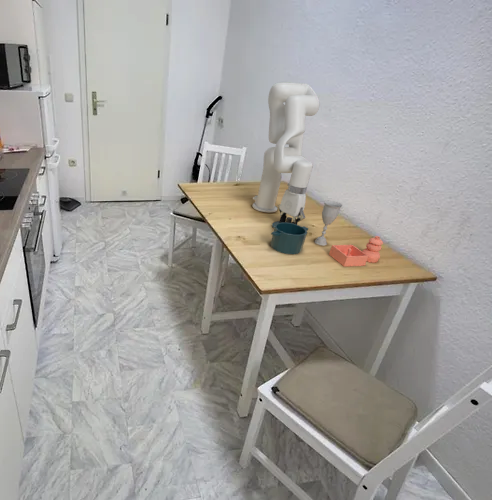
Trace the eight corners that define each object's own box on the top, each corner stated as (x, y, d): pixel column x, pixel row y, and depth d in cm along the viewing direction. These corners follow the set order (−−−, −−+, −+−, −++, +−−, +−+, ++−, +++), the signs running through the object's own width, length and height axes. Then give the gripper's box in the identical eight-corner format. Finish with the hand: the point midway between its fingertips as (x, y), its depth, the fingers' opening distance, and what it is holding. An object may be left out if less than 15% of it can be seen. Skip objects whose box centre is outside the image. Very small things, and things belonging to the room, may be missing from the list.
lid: (265, 225, 169) (268, 214, 167) (286, 221, 174) (289, 211, 172) (286, 237, 159) (289, 225, 156) (308, 233, 164) (311, 221, 161)
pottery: (343, 266, 138) (352, 243, 134) (328, 254, 146) (336, 232, 142) (384, 264, 141) (394, 242, 137) (368, 252, 149) (376, 231, 145)
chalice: (308, 238, 159) (320, 200, 150) (323, 238, 159) (336, 200, 151) (317, 246, 152) (330, 206, 144) (332, 246, 153) (346, 207, 144)
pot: (259, 243, 152) (263, 225, 148) (290, 237, 159) (295, 220, 155) (280, 257, 142) (285, 238, 138) (312, 250, 149) (318, 231, 145)
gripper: (276, 184, 163) (267, 220, 172) (306, 196, 149) (295, 235, 158) (288, 182, 166) (279, 218, 174) (319, 194, 152) (307, 233, 161)
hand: (287, 226), depth 166 cm, fingers open, 6 cm apart
